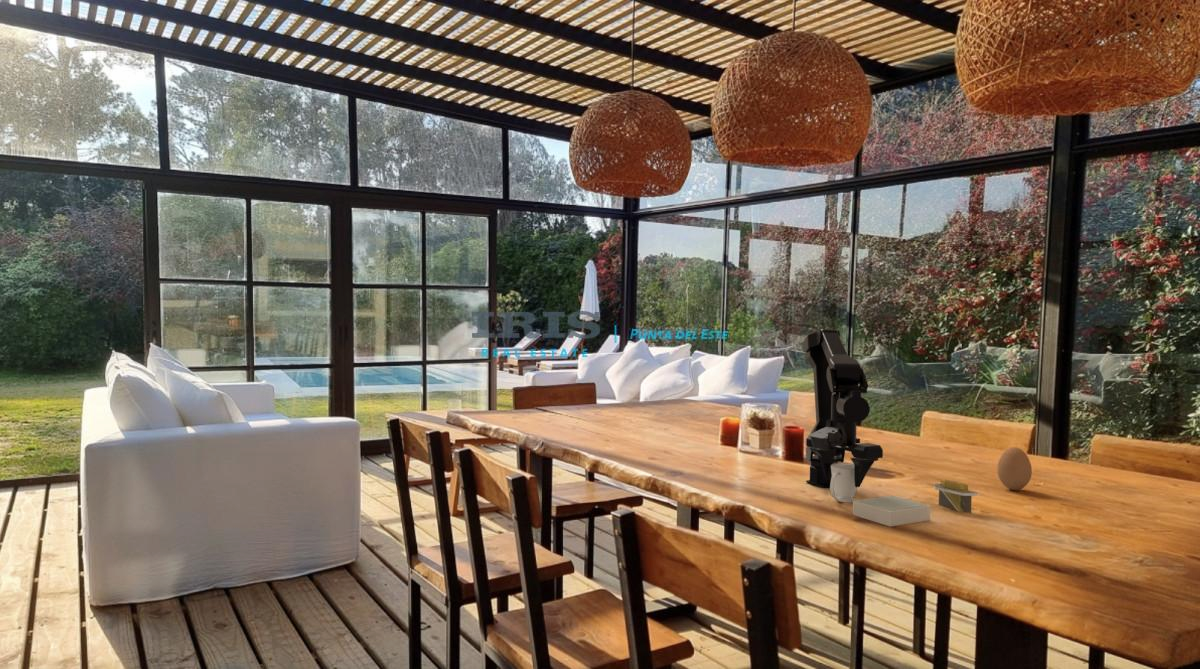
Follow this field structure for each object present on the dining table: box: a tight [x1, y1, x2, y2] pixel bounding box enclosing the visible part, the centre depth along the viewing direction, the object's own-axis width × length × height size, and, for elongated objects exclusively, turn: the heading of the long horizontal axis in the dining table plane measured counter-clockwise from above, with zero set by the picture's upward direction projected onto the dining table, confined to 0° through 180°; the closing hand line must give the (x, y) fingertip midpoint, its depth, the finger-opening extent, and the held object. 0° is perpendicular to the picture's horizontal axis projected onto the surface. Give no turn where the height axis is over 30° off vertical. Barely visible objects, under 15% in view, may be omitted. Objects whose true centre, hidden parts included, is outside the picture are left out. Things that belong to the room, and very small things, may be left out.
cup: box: [829, 462, 858, 503], centre depth 172 cm, size 7×10×8 cm
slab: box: [852, 495, 931, 527], centre depth 159 cm, size 12×10×3 cm
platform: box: [933, 479, 979, 514], centre depth 167 cm, size 12×18×7 cm, turn 30°
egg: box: [996, 446, 1033, 491], centre depth 187 cm, size 8×8×11 cm
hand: (842, 482), depth 172 cm, fingers open, 9 cm apart
